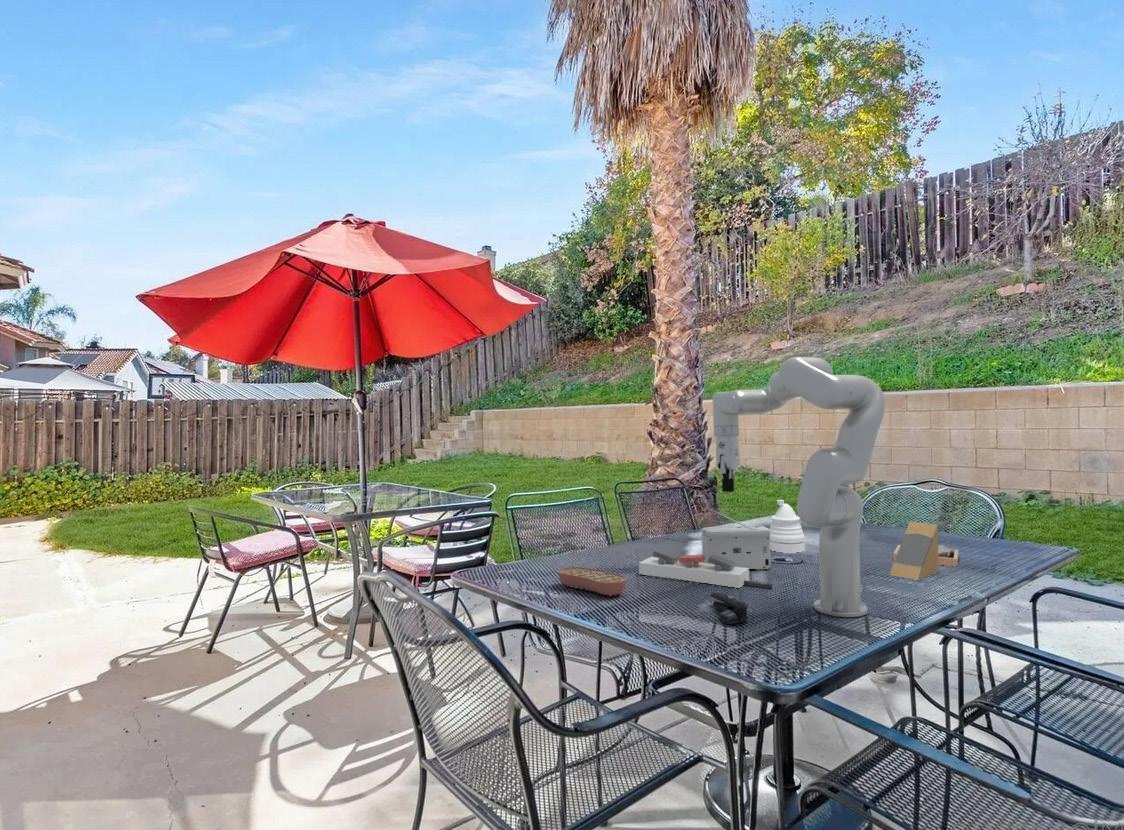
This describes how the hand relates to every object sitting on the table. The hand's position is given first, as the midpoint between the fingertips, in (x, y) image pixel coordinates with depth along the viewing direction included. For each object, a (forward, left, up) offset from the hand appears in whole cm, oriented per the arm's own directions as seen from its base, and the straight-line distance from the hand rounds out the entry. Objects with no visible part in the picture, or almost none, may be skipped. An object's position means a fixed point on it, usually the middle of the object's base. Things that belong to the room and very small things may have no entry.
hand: (728, 491), depth 197 cm
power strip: (-6, +6, -27) cm, 28 cm away
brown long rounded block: (-32, +30, -27) cm, 52 cm away
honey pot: (+47, -5, -27) cm, 54 cm away
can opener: (-34, -11, -27) cm, 45 cm away
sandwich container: (+30, -47, -27) cm, 62 cm away
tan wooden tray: (+53, -49, -27) cm, 77 cm away
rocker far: (-6, +19, -21) cm, 29 cm away
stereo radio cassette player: (+12, +2, -27) cm, 29 cm away
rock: (+54, -51, -27) cm, 79 cm away
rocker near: (-6, +1, -21) cm, 22 cm away
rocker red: (-6, +10, -21) cm, 24 cm away
